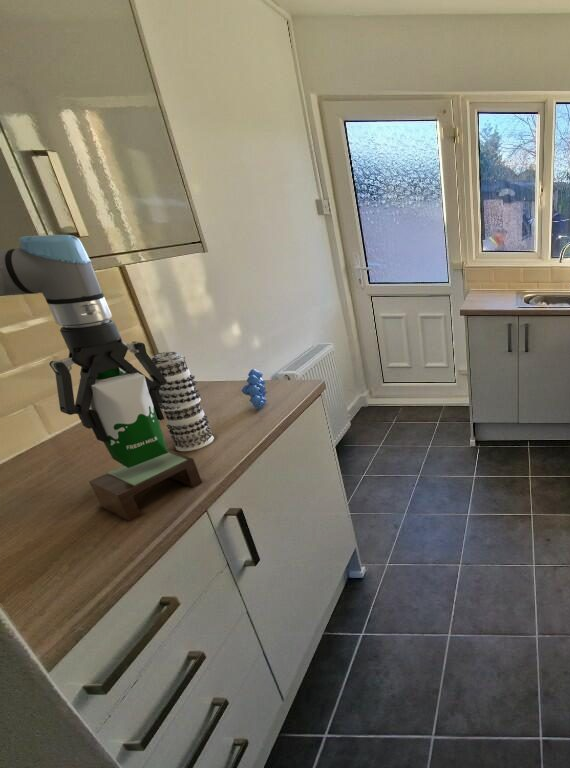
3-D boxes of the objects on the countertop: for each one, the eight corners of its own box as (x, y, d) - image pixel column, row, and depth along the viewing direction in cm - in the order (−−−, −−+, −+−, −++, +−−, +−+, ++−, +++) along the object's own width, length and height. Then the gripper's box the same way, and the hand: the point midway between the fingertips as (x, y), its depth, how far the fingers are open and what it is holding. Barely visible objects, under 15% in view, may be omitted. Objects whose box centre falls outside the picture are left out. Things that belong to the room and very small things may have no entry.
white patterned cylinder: (172, 456, 105) (135, 364, 95) (175, 440, 112) (141, 353, 102) (215, 445, 110) (184, 356, 100) (215, 431, 117) (187, 346, 107)
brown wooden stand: (101, 506, 88) (88, 480, 85) (173, 471, 99) (164, 447, 97) (129, 521, 83) (116, 494, 81) (202, 482, 95) (192, 457, 92)
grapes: (250, 400, 135) (240, 366, 131) (273, 397, 137) (264, 363, 133) (242, 416, 125) (230, 379, 120) (267, 412, 127) (257, 376, 122)
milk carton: (155, 442, 94) (126, 358, 86) (175, 452, 90) (146, 365, 82) (105, 460, 87) (69, 370, 79) (124, 472, 83) (88, 378, 75)
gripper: (12, 341, 66) (73, 459, 75) (163, 311, 84) (198, 410, 93) (-8, 336, 69) (53, 451, 78) (143, 308, 87) (178, 404, 96)
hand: (132, 428), depth 86 cm, fingers closed on milk carton, 9 cm apart
